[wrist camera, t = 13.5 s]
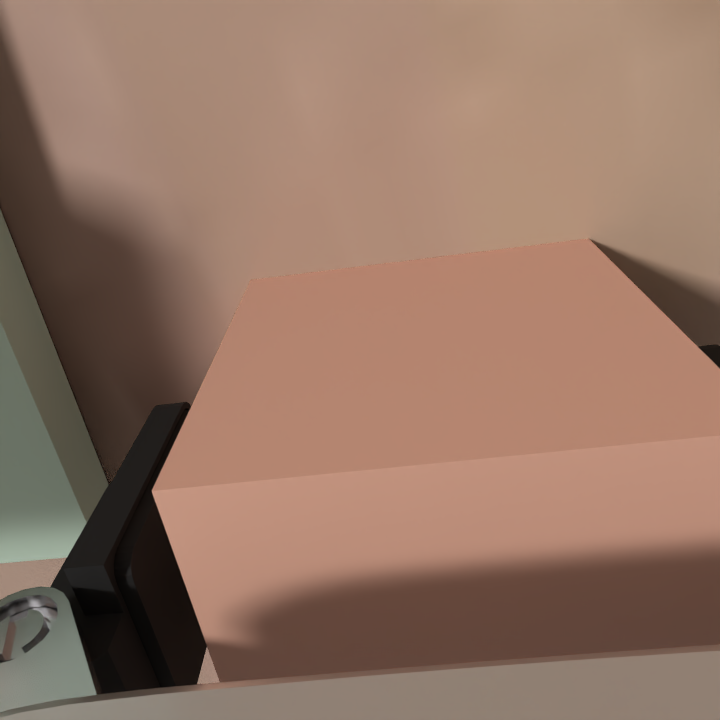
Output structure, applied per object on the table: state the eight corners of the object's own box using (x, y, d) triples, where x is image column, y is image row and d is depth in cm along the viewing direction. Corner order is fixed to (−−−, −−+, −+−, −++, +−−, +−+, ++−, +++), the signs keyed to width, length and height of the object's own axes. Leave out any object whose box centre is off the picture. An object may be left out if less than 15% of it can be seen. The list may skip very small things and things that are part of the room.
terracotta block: (587, 237, 11) (781, 429, 6) (579, 503, 14) (705, 797, 9) (251, 278, 12) (152, 489, 6) (307, 528, 14) (270, 823, 9)
